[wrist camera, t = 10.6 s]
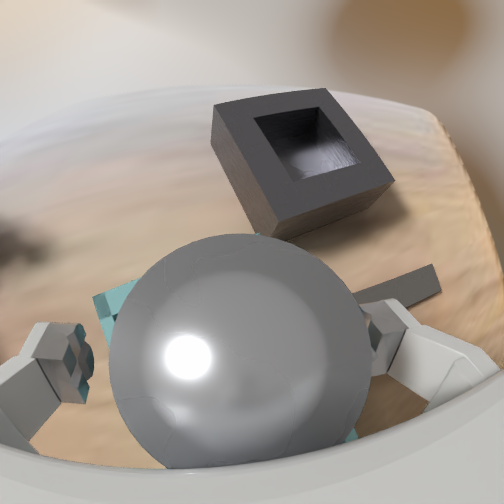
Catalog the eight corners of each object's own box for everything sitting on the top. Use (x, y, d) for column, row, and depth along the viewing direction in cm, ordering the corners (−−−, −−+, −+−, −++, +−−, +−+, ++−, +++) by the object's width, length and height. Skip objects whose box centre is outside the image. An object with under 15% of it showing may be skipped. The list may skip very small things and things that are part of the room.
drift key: (422, 268, 21) (431, 263, 20) (432, 293, 20) (441, 289, 19) (317, 306, 19) (324, 303, 18) (327, 338, 18) (335, 337, 17)
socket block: (367, 208, 21) (395, 180, 18) (263, 249, 19) (278, 221, 15) (310, 121, 24) (325, 88, 20) (210, 143, 21) (213, 104, 17)
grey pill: (263, 374, 15) (403, 407, 4) (196, 404, 14) (185, 521, 3) (233, 308, 16) (304, 202, 5) (165, 336, 15) (74, 288, 4)
